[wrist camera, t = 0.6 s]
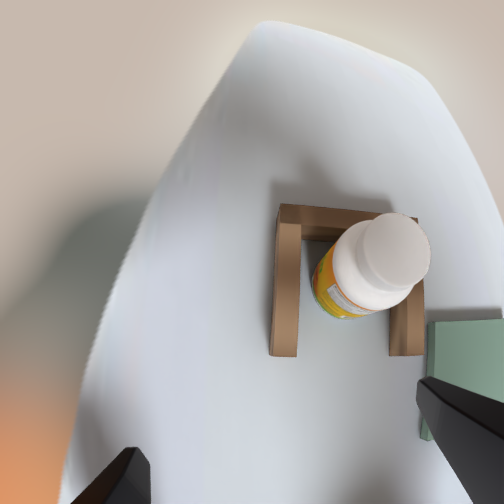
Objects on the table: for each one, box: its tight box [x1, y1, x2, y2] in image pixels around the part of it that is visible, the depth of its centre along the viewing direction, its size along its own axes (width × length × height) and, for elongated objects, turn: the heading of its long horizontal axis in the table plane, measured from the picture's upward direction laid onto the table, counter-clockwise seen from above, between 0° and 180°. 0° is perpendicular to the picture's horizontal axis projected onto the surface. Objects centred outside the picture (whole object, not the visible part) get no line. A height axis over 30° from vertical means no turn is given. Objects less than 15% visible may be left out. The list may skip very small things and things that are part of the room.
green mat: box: [420, 319, 504, 441], centre depth 21 cm, size 10×10×1 cm
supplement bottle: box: [312, 213, 431, 319], centre depth 19 cm, size 5×5×10 cm
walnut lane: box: [269, 204, 425, 357], centre depth 23 cm, size 10×11×3 cm
